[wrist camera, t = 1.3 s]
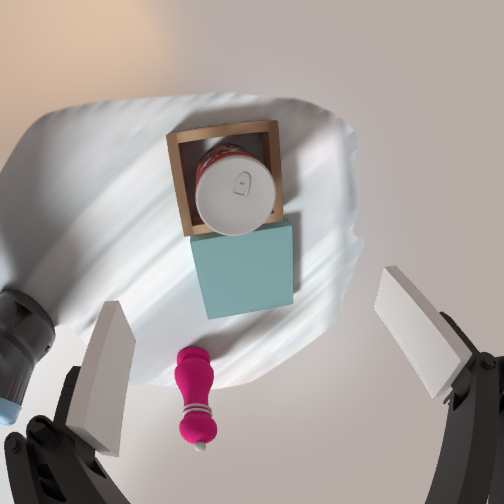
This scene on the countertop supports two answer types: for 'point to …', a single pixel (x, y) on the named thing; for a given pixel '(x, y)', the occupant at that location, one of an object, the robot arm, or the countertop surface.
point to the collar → (267, 127)
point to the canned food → (233, 190)
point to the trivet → (245, 269)
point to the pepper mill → (195, 396)
